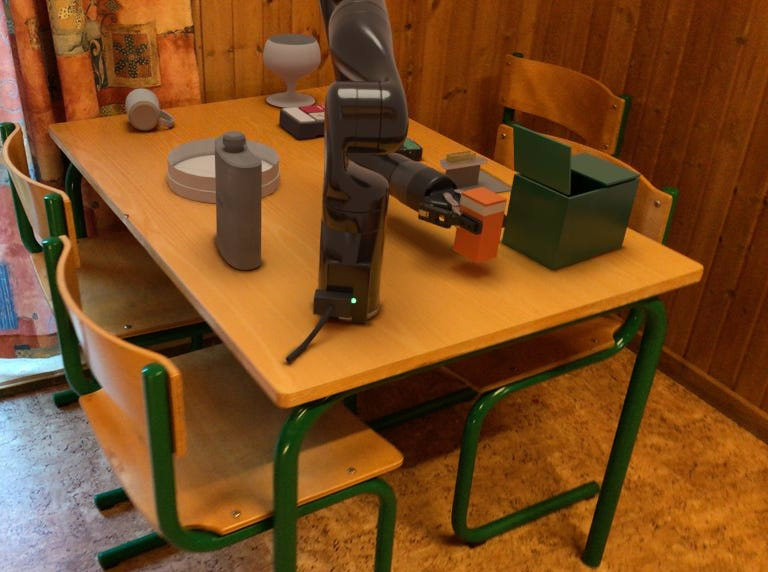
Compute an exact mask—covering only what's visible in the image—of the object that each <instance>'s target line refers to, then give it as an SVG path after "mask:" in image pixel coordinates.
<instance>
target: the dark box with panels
mask: <svg viewBox="0 0 768 572" xmlns="http://www.w3.org/2000/svg"><path fill="white" fill-rule="evenodd" d="M324 107H325V104H320V105H319V104H318V105H317V104H316V105H310V106H300V107H299V108H286V107H282V108H281V109H279V121H278V125H279V126H280V127H281V128H282V129H284V130H285V131H287V132H288V133H289V134H291V135H292V136H294V138H296V139H298V140H310V139H315V138H316V137H317V136H324Z"/></svg>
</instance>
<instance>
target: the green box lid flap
mask: <svg viewBox="0 0 768 572" xmlns="http://www.w3.org/2000/svg"><path fill="white" fill-rule="evenodd" d="M512 138H513V139H512V142H513V143H512V144H513V171H514V172H516V173H521V174H523V175H525V176H527V177H529V178H532V179H534V180H536V181H538V182H540V183H543V184H545V185H547V186H549V187H551V188H554V189H556V190H558V191H560V192H562V193H565V194H567V195H570V188H571V156H572V151H573V150H572V145H569V144H566V143H564V142H561V141H559V140H556V139H554V138H551V137H549V136H547V135H544V134H541V133H538V132H537V131H534V130H531V129H529V128H526V127H524V126H521V125H519V124H516V123H514V124H512Z"/></svg>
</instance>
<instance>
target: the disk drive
mask: <svg viewBox="0 0 768 572" xmlns="http://www.w3.org/2000/svg"><path fill="white" fill-rule="evenodd" d="M394 153H398V154H401V155H403V156H405V157H407V158H409V159H411V160H413V161H418V160H422V159H423V153H424V148H423V147H422V146H421V145H419V143H417V142H416V141H415V140H413V139H412V138H410V137H409V136H407V138H406V140H405V143H404V145H403V146H402V147H401V149H399V150H398V151H396V152H394Z"/></svg>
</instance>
